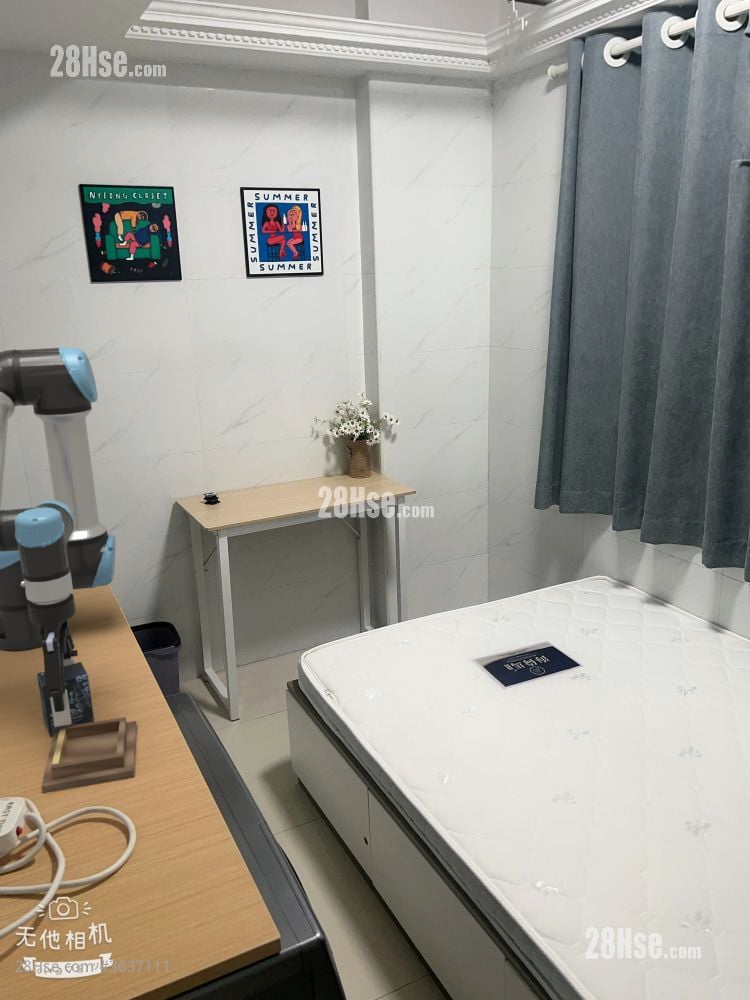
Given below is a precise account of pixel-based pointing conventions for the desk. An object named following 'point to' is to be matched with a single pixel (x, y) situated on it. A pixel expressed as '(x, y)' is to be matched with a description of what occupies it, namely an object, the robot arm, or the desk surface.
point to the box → (69, 697)
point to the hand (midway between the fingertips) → (67, 706)
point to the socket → (91, 754)
